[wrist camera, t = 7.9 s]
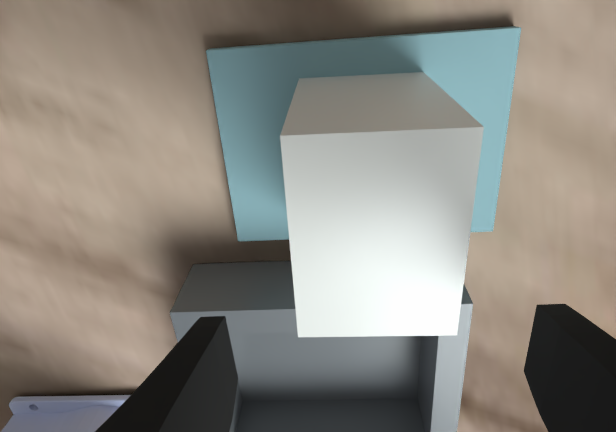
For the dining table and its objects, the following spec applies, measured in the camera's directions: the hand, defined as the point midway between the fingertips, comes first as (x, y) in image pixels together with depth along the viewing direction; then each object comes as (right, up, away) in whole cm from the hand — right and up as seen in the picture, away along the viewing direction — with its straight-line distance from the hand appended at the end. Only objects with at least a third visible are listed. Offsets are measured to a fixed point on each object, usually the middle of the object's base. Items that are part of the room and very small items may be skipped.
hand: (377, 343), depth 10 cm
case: (-1, -3, +12) cm, 13 cm away
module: (0, +5, +7) cm, 9 cm away
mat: (0, +6, +7) cm, 9 cm away
